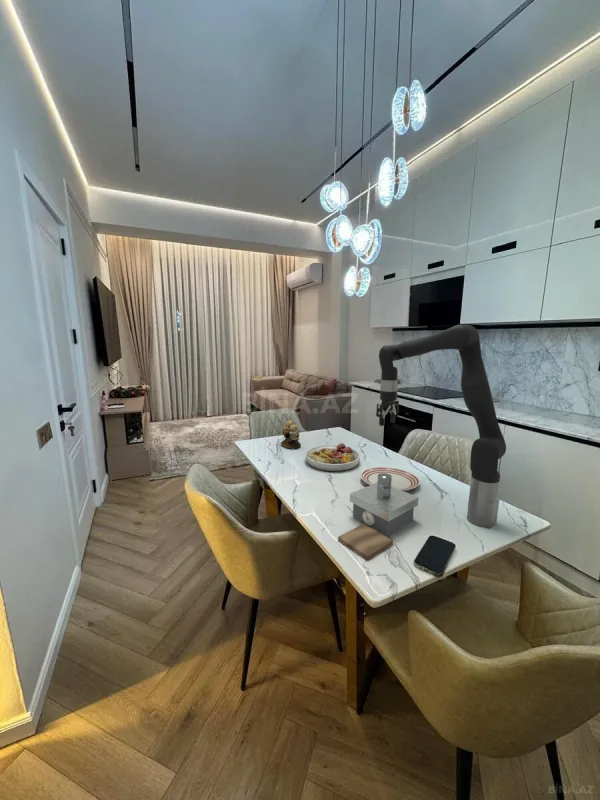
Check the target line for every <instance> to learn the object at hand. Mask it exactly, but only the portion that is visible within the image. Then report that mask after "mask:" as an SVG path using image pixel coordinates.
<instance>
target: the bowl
mask: <svg viewBox="0 0 600 800" xmlns="http://www.w3.org/2000/svg"><path fill="white" fill-rule="evenodd" d="M305 459H306V462H307V463H308V464H309V465H310V466H311V467H314V468H316V469H318V470H321V471H327V472H342V471H347V470H350V469H352V468H354V467H356V466H357V465H358V463H360V460H361V455H360V453H359V452H358V451H357V450H355V449H353V448H352V447H351V446H346V444H345V443H343V442H342V443H339V444H337V445H320V446H316V447H312V448H310V449H308V450H307V451H306V452H305Z"/></svg>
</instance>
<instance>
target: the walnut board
mask: <svg viewBox="0 0 600 800" xmlns="http://www.w3.org/2000/svg"><path fill="white" fill-rule="evenodd" d="M337 538H338V539H337V540H338V542H340V543H341V544H343V546H346V547H347V548H348V549H349V550H351V551H353V552H354V553H355V554H357V555H358V556H360V557H362V558H363V559H364V560H366V561H369V560H370V559H372V558H374V557H376V556H377V555H379V554H380V553H382V552H384V551H385V550H387V549H388V548H390V547H391V546H393V545H394V540H393V539H392V538H390V537H388V536H387V535H385V534H383V533H381V532H379V531H378V530H376V529H374V528H372V527H371V526H369V525H367V524H365V523H362V524H360V525H358V526H357V527H355V528H354V527H353V529H351V530H348V531H346V532H345V533H343V534H341V535H339V536H338V537H337Z"/></svg>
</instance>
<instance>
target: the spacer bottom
mask: <svg viewBox="0 0 600 800" xmlns="http://www.w3.org/2000/svg"><path fill="white" fill-rule="evenodd" d="M377 496H378V497H380V498H383V499H388V498H390V497H391V488H389V489H383V488H380V487H378V486H377Z"/></svg>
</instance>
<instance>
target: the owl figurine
mask: <svg viewBox="0 0 600 800" xmlns="http://www.w3.org/2000/svg"><path fill="white" fill-rule="evenodd" d="M281 428H282V429H281V433H282V435H283V437H284V439H283V440H282V441H281V442H280V445H281V447H282V448H285V449H287V450H296V449H301V447H302V444H301V443H300V442H299V440H300V432H299V430H298V426H297V425H296V424H294V423H293V420H291V419H289V420H287V421H286V422H285V424H284V425H283V426H282V427H281Z"/></svg>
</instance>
